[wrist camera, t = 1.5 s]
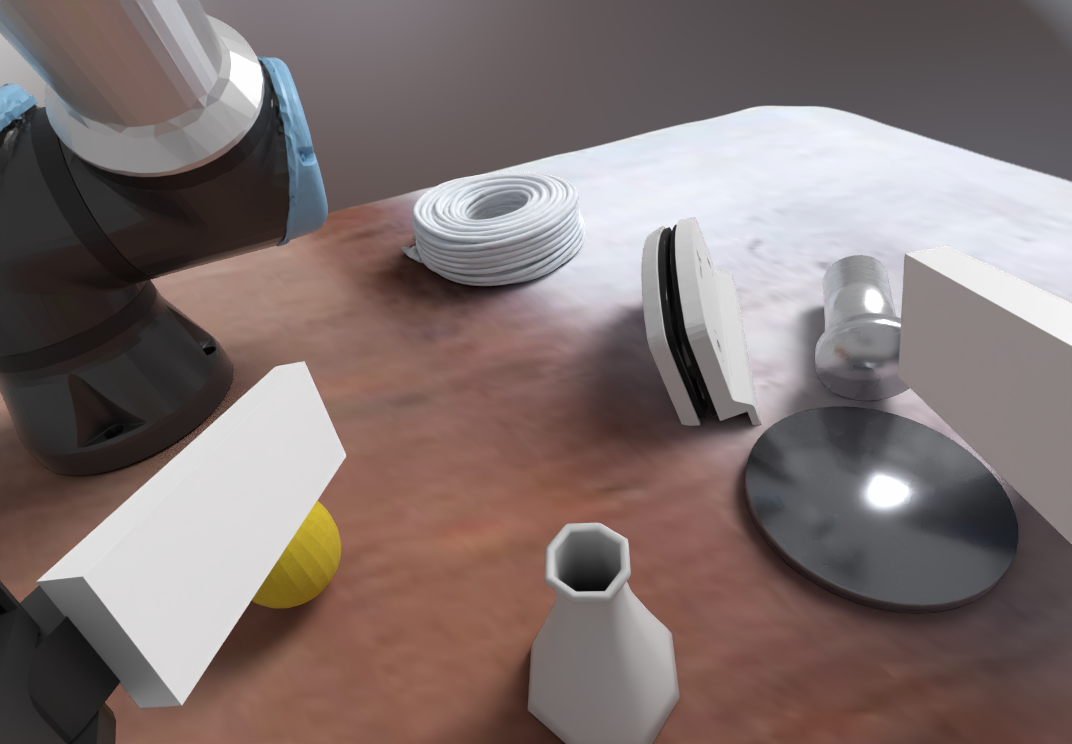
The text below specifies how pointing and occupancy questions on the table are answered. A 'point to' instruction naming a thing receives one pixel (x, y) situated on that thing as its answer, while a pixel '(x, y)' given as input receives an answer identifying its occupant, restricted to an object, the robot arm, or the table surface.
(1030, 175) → the table surface
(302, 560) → the lemon
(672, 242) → the white flat angled piece
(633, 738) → the flask
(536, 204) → the cable
